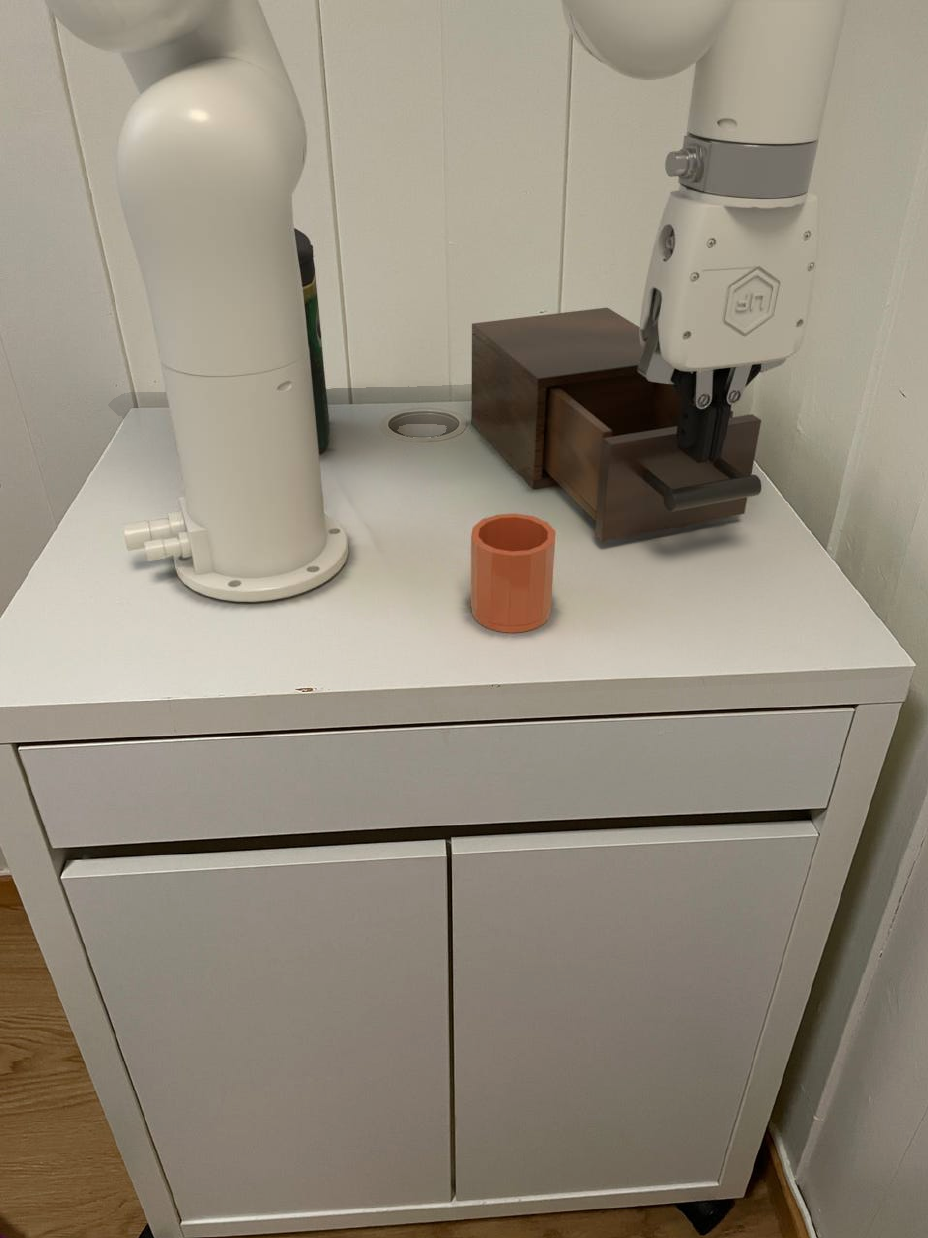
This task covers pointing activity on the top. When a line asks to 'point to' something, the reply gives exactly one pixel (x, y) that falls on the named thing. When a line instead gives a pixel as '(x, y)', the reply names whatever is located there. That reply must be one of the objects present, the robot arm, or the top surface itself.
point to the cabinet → (541, 375)
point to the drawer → (641, 457)
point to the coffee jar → (313, 336)
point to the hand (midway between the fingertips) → (697, 453)
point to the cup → (512, 572)
